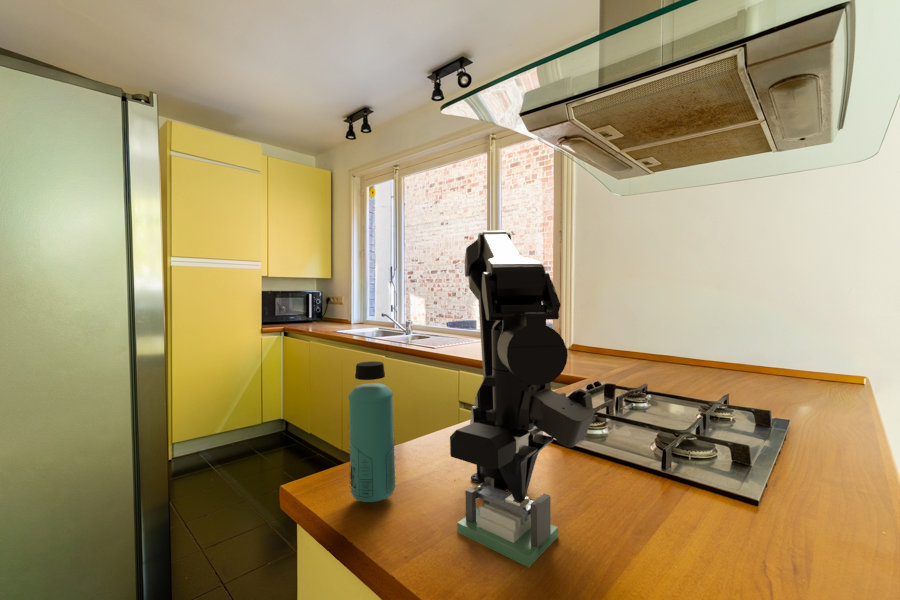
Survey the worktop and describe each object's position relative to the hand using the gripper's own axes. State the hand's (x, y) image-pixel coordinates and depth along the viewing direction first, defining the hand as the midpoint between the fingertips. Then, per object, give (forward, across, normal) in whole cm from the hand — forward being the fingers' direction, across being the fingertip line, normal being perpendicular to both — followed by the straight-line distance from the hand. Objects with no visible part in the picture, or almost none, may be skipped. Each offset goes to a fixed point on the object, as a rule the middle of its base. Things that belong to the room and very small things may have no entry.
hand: (519, 499), depth 47 cm
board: (+5, 0, +2) cm, 5 cm away
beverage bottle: (+5, -5, +21) cm, 22 cm away
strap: (+1, 0, +2) cm, 3 cm away
